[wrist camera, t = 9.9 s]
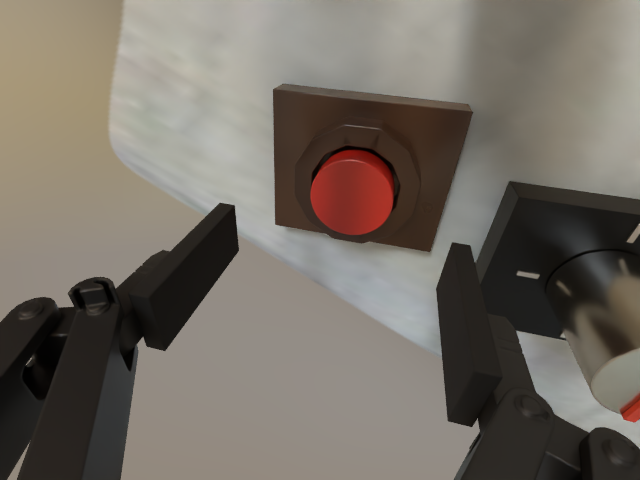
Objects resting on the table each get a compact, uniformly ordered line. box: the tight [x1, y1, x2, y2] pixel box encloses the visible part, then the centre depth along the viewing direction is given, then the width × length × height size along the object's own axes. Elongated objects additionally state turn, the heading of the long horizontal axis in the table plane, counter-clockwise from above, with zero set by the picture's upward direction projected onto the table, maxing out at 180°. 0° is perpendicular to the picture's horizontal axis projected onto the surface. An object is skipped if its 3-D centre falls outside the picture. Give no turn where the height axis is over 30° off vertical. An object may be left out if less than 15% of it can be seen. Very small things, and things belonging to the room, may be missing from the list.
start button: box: [310, 150, 395, 235], centre depth 21 cm, size 5×5×2 cm
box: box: [273, 84, 473, 252], centre depth 23 cm, size 12×10×4 cm
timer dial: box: [546, 251, 640, 422], centre depth 20 cm, size 6×6×8 cm
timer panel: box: [475, 181, 640, 341], centre depth 24 cm, size 14×11×3 cm
